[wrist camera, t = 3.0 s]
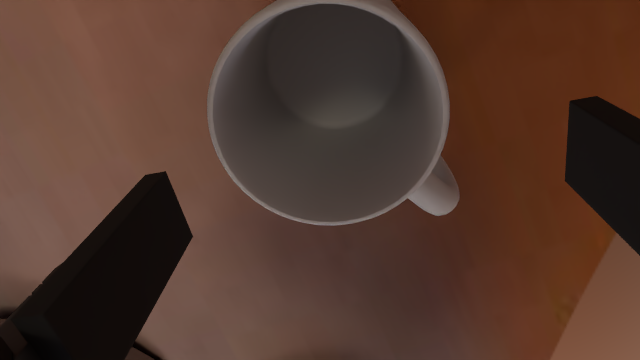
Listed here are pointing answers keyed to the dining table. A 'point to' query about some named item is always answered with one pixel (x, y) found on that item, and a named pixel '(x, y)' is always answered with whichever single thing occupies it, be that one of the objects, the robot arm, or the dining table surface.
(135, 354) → the plate
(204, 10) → the dining table surface
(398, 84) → the mug
